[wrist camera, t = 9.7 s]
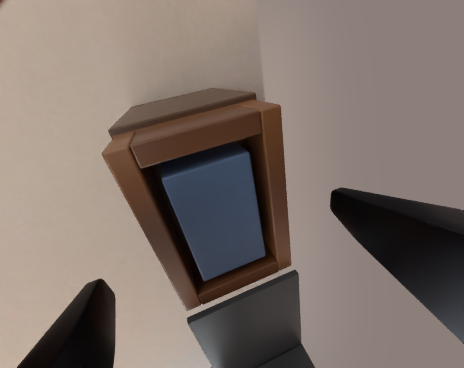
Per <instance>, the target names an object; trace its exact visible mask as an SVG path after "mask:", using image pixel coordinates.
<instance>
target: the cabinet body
mask: <svg viewBox="0 0 464 368" xmlns="http://www.w3.org/2000/svg"><path fill="white" fill-rule="evenodd" d="M253 99H254V100H256V94H255V93H253V92H244V91H234V90H225V89H216V88H210V89H206V90H202V91H198V92H193V93H189V94H185V95H181V96H176V97H172V98H168V99H164V100H160V101H155V102H151V103H147V104H143V105H138V106H134V107H131V108H130V109H129V110H128V111H127V112H126V113H125V114H124V115H123V116H122V117H121V118H120V119H119V120H118V121H117V122H116V123H115V124H114V125H113V126H112V127H111V128H110V129H109V130H108V132H109V134H110V136H111V138H112V139H113V138H114V135H117V134H121V133H125V132H129V131H133V130H137V129H141V128H145V127H148V126H152V125H156V124H160V123H164V122H168V121H172V120H176V119H179V118H183V117H187V116H191V115H195V114H199V113H203V112H207V111H211V110H214V109H218V108H222V107H226V106H230V105H234V104H238V103H242V102H245V101H249V100H253ZM256 101H257V100H256Z"/></svg>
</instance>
